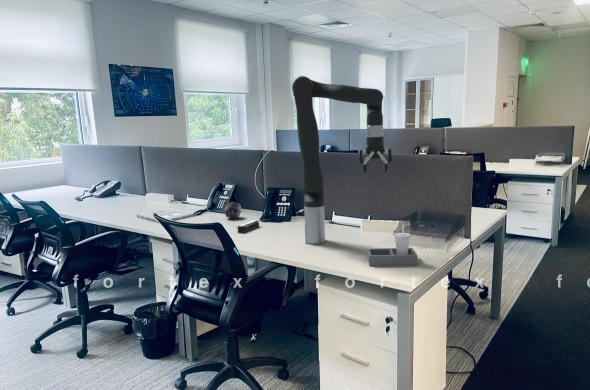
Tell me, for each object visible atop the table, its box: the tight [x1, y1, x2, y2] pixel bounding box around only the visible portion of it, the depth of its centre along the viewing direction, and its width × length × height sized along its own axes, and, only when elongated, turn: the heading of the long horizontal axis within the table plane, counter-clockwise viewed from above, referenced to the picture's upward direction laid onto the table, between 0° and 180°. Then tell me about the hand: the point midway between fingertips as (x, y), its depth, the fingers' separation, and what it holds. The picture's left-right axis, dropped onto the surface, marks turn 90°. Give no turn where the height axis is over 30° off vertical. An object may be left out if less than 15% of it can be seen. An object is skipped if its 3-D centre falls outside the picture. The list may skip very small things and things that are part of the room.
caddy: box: [366, 247, 418, 267], centre depth 167 cm, size 18×10×4 cm, turn 85°
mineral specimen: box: [224, 201, 242, 219], centre depth 254 cm, size 10×10×10 cm
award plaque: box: [136, 207, 197, 224], centre depth 269 cm, size 25×30×2 cm
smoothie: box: [393, 223, 412, 255], centre depth 166 cm, size 6×6×14 cm
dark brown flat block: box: [235, 219, 260, 234], centre depth 228 cm, size 14×25×4 cm, turn 149°
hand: (375, 172), depth 190 cm, fingers open, 8 cm apart
